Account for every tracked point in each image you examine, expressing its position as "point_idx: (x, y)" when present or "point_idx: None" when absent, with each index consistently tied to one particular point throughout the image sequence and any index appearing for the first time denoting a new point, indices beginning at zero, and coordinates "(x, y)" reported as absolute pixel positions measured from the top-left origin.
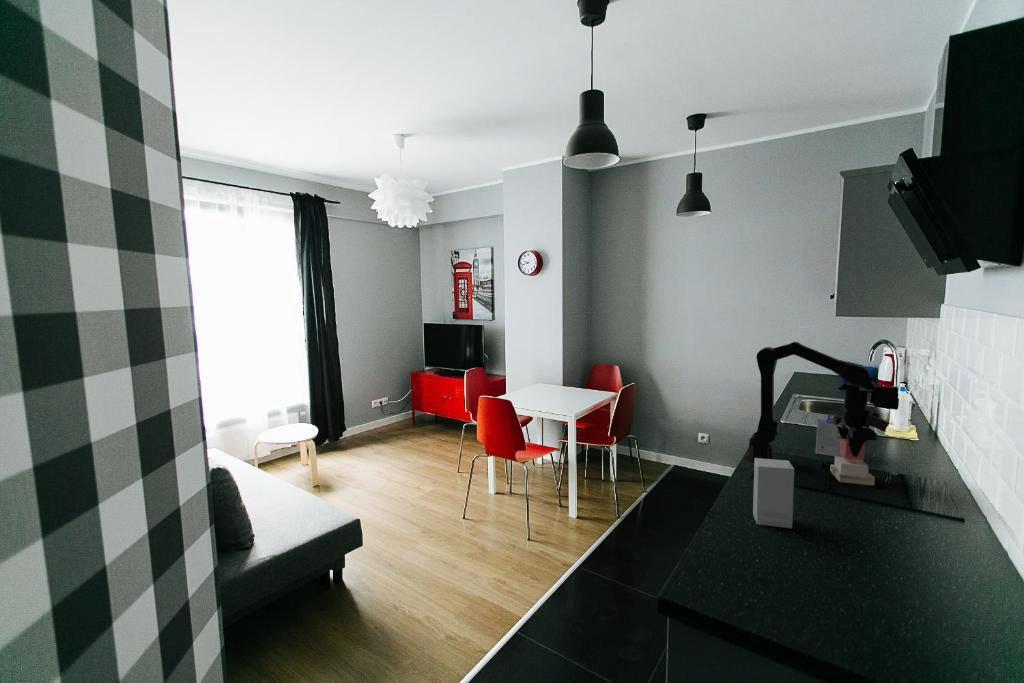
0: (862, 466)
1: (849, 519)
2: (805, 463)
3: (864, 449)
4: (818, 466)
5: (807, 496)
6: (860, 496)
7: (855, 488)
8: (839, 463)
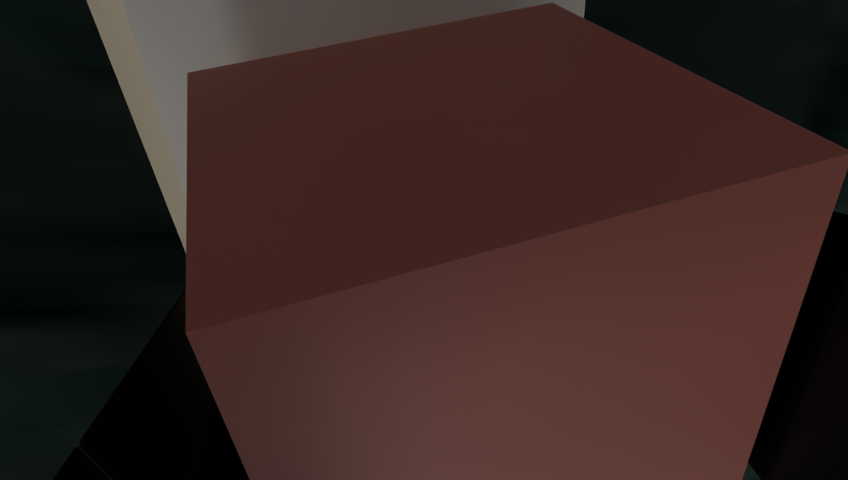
0: (581, 14)
1: None
2: (58, 443)
3: (712, 95)
4: (77, 347)
5: None
6: (821, 35)
7: (649, 49)
8: None
